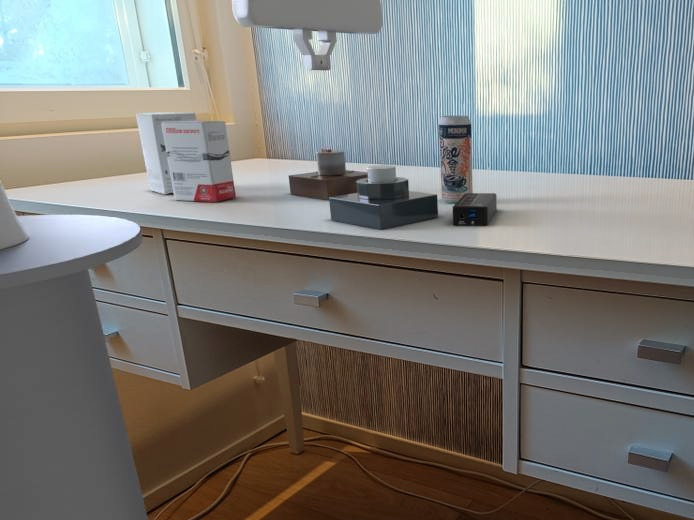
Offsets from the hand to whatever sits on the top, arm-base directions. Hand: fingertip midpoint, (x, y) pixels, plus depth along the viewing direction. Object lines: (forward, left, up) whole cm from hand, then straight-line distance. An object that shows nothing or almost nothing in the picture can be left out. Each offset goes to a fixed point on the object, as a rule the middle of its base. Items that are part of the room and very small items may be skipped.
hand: (317, 70), depth 88 cm
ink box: (-4, +27, -19) cm, 33 cm away
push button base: (+2, -9, -18) cm, 21 cm away
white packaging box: (-2, +40, -18) cm, 44 cm away
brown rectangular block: (+12, +15, -18) cm, 26 cm away
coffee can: (+18, -7, -18) cm, 26 cm away
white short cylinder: (+2, -9, -14) cm, 17 cm away
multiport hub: (+10, -18, -18) cm, 28 cm away
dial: (+12, +15, -15) cm, 24 cm away
